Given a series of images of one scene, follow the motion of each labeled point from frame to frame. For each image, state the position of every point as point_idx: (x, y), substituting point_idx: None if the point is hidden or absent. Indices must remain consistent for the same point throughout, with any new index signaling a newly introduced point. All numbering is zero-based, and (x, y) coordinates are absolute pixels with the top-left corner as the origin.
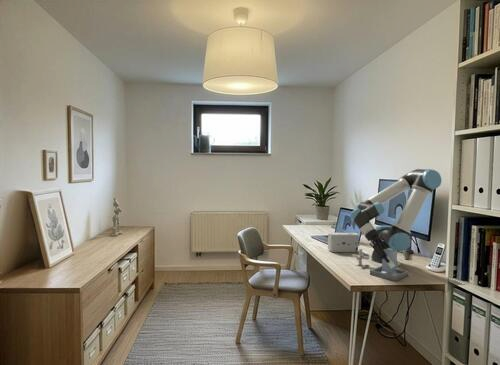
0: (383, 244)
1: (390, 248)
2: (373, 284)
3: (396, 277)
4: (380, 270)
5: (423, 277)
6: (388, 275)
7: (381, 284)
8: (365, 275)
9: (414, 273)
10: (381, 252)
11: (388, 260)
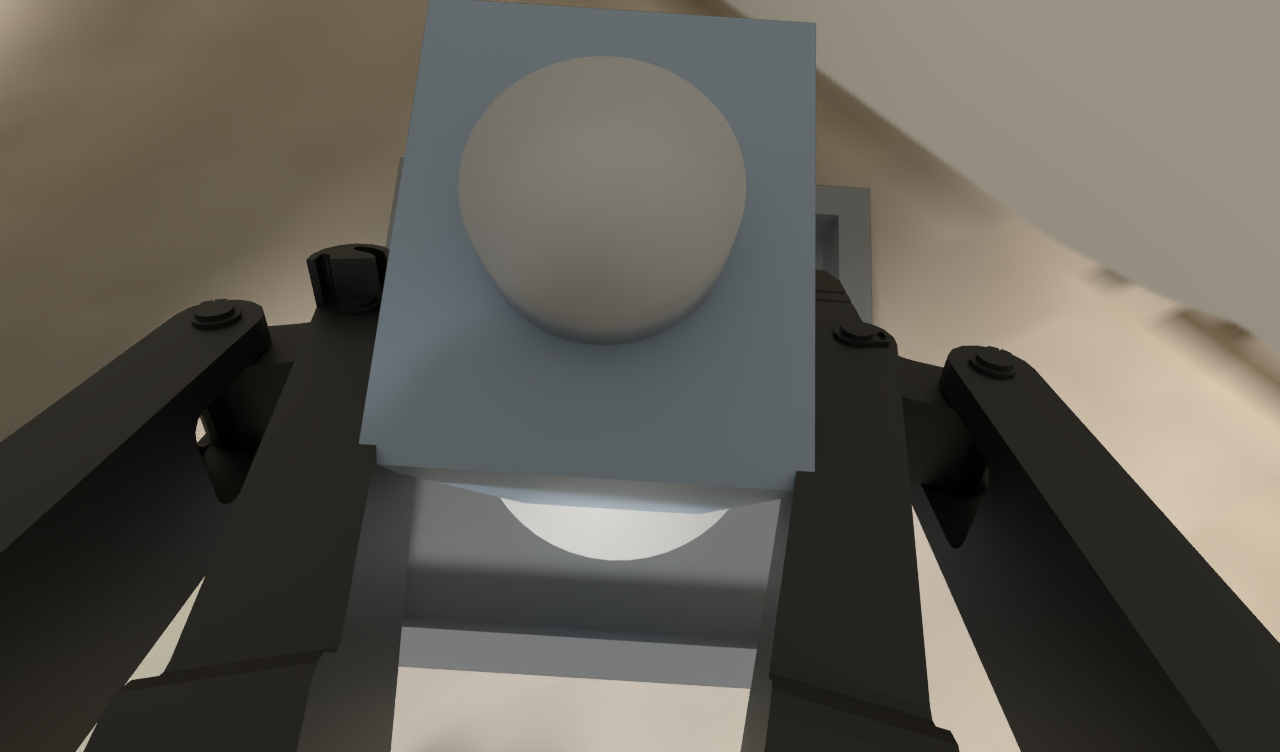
0: (327, 681)
1: (567, 170)
2: (1246, 394)
3: (849, 192)
4: (537, 611)
5: (322, 34)
6: (867, 314)
7: (1138, 314)
8: (966, 703)
9: (201, 178)
10: (1061, 429)
11: (826, 283)
